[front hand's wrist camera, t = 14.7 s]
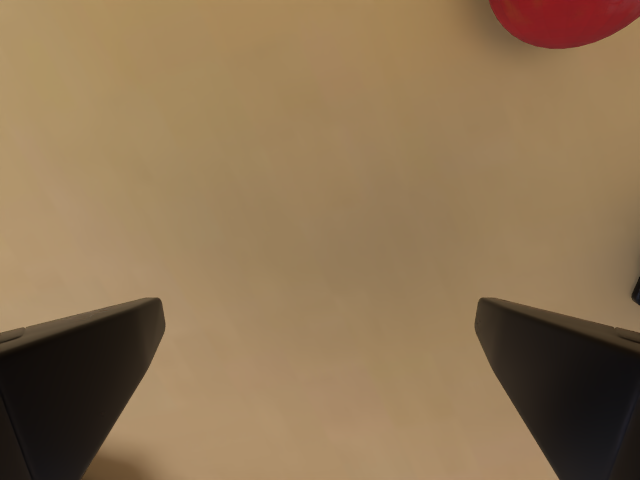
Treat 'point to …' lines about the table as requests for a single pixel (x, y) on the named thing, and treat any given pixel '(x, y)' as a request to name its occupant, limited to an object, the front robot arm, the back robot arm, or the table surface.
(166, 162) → the table surface
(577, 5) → the eyeball
